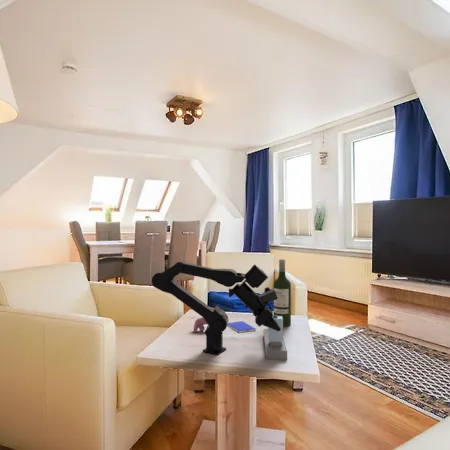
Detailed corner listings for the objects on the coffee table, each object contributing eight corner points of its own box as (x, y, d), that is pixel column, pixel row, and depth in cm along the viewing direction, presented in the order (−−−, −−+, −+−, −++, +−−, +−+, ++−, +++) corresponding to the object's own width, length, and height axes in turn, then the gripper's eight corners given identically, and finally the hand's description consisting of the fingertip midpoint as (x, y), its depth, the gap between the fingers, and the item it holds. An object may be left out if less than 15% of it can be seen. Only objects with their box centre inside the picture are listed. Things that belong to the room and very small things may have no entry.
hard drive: (227, 322, 154) (239, 330, 143) (243, 320, 157) (255, 328, 146) (227, 326, 154) (239, 334, 143) (243, 324, 157) (255, 331, 146)
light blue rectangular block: (283, 347, 118) (283, 317, 118) (268, 347, 118) (268, 317, 118) (281, 343, 122) (281, 314, 122) (268, 343, 122) (268, 314, 122)
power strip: (287, 359, 113) (287, 349, 113) (266, 359, 114) (266, 348, 114) (279, 331, 144) (279, 323, 144) (263, 331, 145) (263, 322, 145)
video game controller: (216, 334, 145) (217, 318, 148) (215, 333, 141) (216, 316, 144) (194, 334, 146) (195, 317, 149) (192, 332, 142) (193, 315, 145)
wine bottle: (273, 326, 152) (273, 260, 152) (273, 321, 160) (273, 258, 160) (291, 327, 151) (291, 260, 151) (290, 322, 158) (290, 258, 159)
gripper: (265, 285, 111) (299, 320, 110) (263, 277, 130) (292, 306, 129) (241, 309, 111) (275, 343, 111) (242, 297, 130) (271, 326, 129)
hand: (279, 328), depth 120 cm, fingers closed on light blue rectangular block, 4 cm apart
